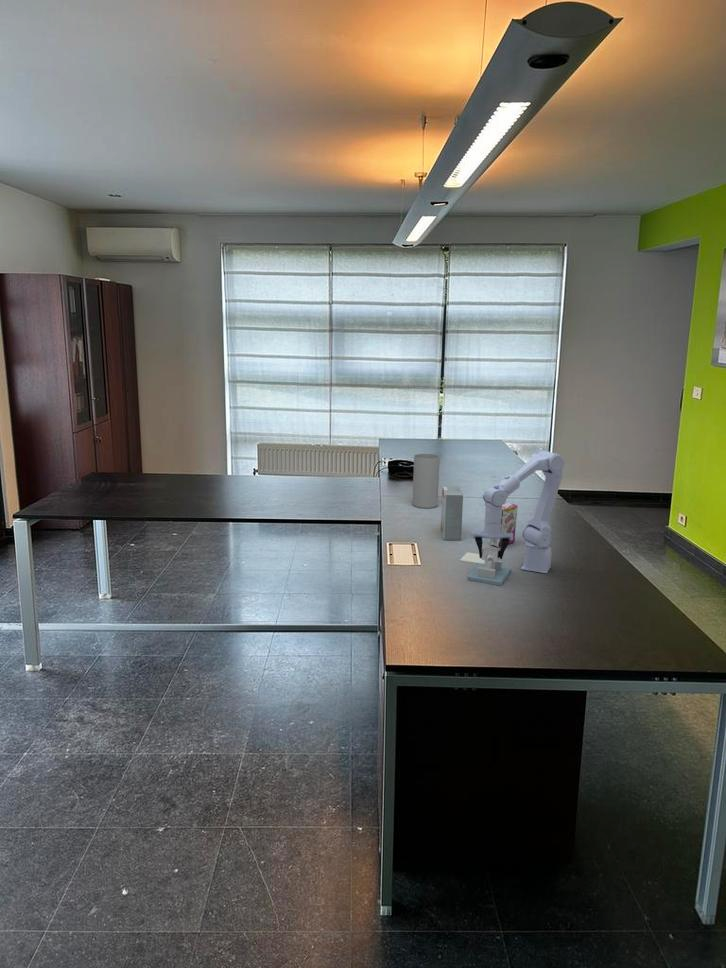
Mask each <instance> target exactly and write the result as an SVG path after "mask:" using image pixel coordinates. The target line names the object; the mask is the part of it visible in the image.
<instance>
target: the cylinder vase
mask: <svg viewBox="0 0 726 968" xmlns="http://www.w3.org/2000/svg"><path fill="white" fill-rule="evenodd" d="M440 458H441V457H440V455H437V454H432V453H418V454H417V453H416V454H414V455H413V477H412V478H413V479H412V506H414V507H416V508H420V509H432V508H433V509H434V508H436V507H438V503H439V486H440V485H439V482H440V481H439V480H440V479H439V478H440V462H441V461H440Z"/></svg>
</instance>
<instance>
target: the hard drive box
mask: <svg viewBox="0 0 726 968" xmlns="http://www.w3.org/2000/svg"><path fill="white" fill-rule="evenodd" d="M441 487H442V488H441V489H442V490H441V509H440V510H441V512H440V513H441V515H440V530H441V535H442V539H443V541H462V529H463V527H462V526H463V525H462V524H463V507H464V506H463V504H464V503H463V502H464V493H463V492H462V490H461V487H460V486H459V485H442V486H441Z"/></svg>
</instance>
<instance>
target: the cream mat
mask: <svg viewBox="0 0 726 968" xmlns="http://www.w3.org/2000/svg"><path fill="white" fill-rule="evenodd" d="M490 556H491V555H488V558H489V557H490ZM459 561H460V562H465V563H469V564H470V563H471V564H476V565H478V564H479V563H483V564H485V560H482V558H480V557H479V553H474V552H469V551H467V552H466V553H465V554H464V555H463V556H462V557H461V558H460V560H459Z"/></svg>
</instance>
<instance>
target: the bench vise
mask: <svg viewBox="0 0 726 968" xmlns="http://www.w3.org/2000/svg"><path fill="white" fill-rule="evenodd" d="M489 556H490V557H489V558H487V559H486V560H485V564H483V563H479V564H476V566H475V568H473V570H472V571H470V573H469V574H468V576H467V578H466V580H467V581H471V582H475V583H481V584H482V583H483V584H487V585H493V584H494V585H495V586H499V585H500V587H501V586H502V585H503V583H504V582H505V581H506V579H507V578H506V577H508V576H509V574H510V573H511V571H512V567H507V566H503V560H502V559H499V560H498V562H493V556H494V555H489ZM504 580H505V581H504Z"/></svg>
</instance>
